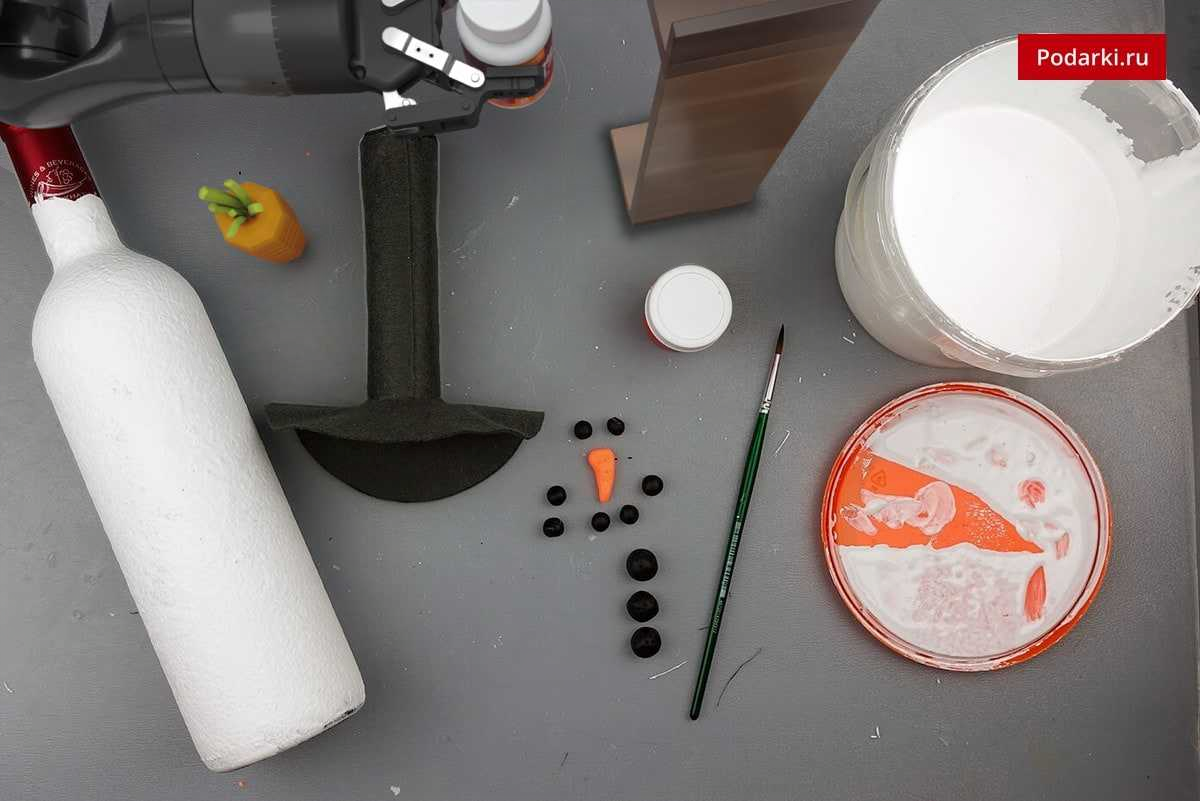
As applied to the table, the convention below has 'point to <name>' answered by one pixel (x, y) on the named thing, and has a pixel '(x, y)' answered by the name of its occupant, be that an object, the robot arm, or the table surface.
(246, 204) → the carrot
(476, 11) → the pill bottle
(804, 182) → the table surface
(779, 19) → the rack
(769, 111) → the stand
